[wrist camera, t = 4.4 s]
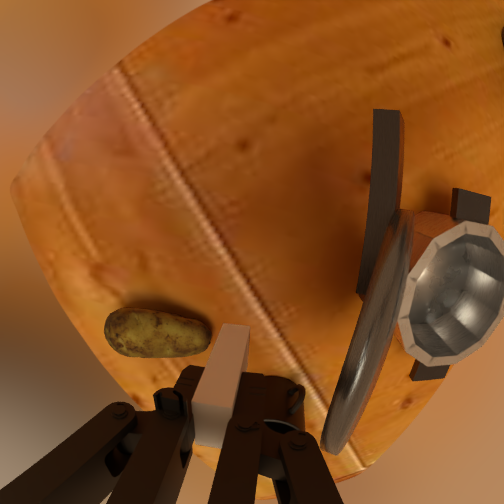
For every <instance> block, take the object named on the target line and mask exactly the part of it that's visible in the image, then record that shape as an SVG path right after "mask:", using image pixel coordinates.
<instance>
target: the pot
mask: <svg viewBox="0 0 504 504" xmlns="http://www.w3.org/2000/svg"><path fill="white" fill-rule="evenodd" d="M490 204H491V197H489V196H486V195H482V194H478V193H475V192H471V191H467V190H463V189H459V188H453V190H452V202H451V211H450V215H446V214H440V213H435V212H429V211H422V212H420V213H418V214H416V215H415V225H414V238H413V247H412V254H411V261H410V267H409V272H408V278H407V283H406V288H405V292H404V297H403V301H402V305H401V309H400V313H399V317H398V320H397V324H396V327H395V331H394V335H395V336H396V338H397V339H398V341H399V342H400V344H401V345H402V347H403V348H404V350H405V351H406V352H407V353H408V354H410V355H411V356H413V357H414V358H416V359H415V362H414V365H413V367H412V370H411V372H410V375H409V376H410V378H411V380H412V381H422V380H432V379H441V378H445V376H446V373H447V371H448V369H449V366H450V364H456V363H458V362H459V361H461V360H462V359H464V358H466V357H467V356H469V355H470V354H472V353H473V352H474V351H476V350H478V349H479V348H480V347H482V345H484V343H485V342H486V341H487V340H488V338H489V337H490V335H491V334H492V333H493V331H494V330H495V328H496V327H497V326H498V324H499V323H500V321H501V320H502V318H503V316H504V241H503V239H502V238H501V236H500V235H499V234H498V232H497V231H496V230H495V228H494V227H493V226H490V225H488V222H489V214H490ZM486 224H487V225H486ZM359 297H360V298H361V300H362V301H363V302H364V299H365V295H363V294H359Z"/></svg>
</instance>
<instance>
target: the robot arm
mask: <svg viewBox="0 0 504 504" xmlns="http://www.w3.org/2000/svg"><path fill="white" fill-rule="evenodd" d="M502 39H503V44H504V27H503V29H502ZM249 337H250V326H244V325H235V324H226V323H223V325H222V328H221V330H220V333H219V335H218V338H217V340H216V342H215V345H214V347H213V350H212V352H211V355H210V357H209V359H208V362H207V364H206V367H200V366H194V365H189V366H188V367H186V368H185V369H184V370H182V372H181V374H180V376H179V378H178V380H177V382H176V384H175V386H174V388H162V389H160V390H158V391H156V392H155V393H154V394H153V397H154V402H155V408H156V410H154V411H135V409H134V407H133V406H132V405H130V404H129V403H126V402H114V403H111V404H110V405H108V406H107V407H105V408H104V409H103V410H102V411H101V412H99V413H98V414H97V415H96V416H94V417H93V418H92V419H91V420H90V421H88V422H87V423H86V424H84V425H83V426H82V427H81V428H80V429H78V430H77V431H76V432H75V433H73V434H72V435H71V436H70V437H68V438H67V439H66V440H65V441H63V442H62V443H61V444H59V445H58V446H57V447H56V448H54V449H53V450H52V451H51V452H49V453H48V454H47V455H46V456H44V457H43V458H42V459H40V460H39V461H38V462H37V463H35V464H34V465H33V466H31V467H30V468H29V469H27V470H26V471H25V472H23V473H22V474H21V475H20V476H18V477H17V478H15V479H14V480H13V481H12V482H10V483H9V484H8V485H6V486H5V487H3V488H2V489H1V490H0V504H100V503H101V502H102V501H103V499H105V498H106V497H107V496H108V495H109V493H110V492H112V493H111V495H110V497H109V499H108V501H107V503H106V504H176V501H177V498H178V495H179V492H180V489H181V486H182V483H183V480H184V477H185V474H186V471H187V468H188V465H189V462H190V459H191V456H192V450H193V449H192V444H193V441H194V438H195V444H197V445H203V446H208V447H214V448H221V452H220V456H219V461H218V465H217V469H216V473H215V477H214V481H213V485H212V488H211V492H210V497H209V501H208V504H254V501H255V494H256V485H257V477H258V474H260V475H263V476H266V477H269V478H272V481H273V485H274V489H275V493H276V497H277V500H278V504H344V503H343V501H342V499H341V497H340V494H339V492H338V490H337V488H336V485H335V483H334V481H333V478H332V476H331V474H330V472H329V469H328V467H327V465H326V462H325V460H324V458H323V455H322V453H321V451H320V448H319V446H318V444H317V441H316V440H315V438H314V437H313V435H311V434H309V433H308V432H305V431H301V430H293V431H290V432H287V433H286V434H281V433H278V432H275V431H273V430H271V429H270V428H268V426H267V425H266V424H265V422H264V408H265V397H266V386H267V380H266V378H265V376H264V375H263V374H259V373H250V372H246V370H247V364H248V351H249Z"/></svg>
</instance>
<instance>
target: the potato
mask: <svg viewBox="0 0 504 504" xmlns="http://www.w3.org/2000/svg"><path fill="white" fill-rule="evenodd" d="M104 334H105V337H106V339H107V341H108V343H109V345H110V346H111V347H112V348H113V349H114V350H115V351H117V352H118V353H120V354H122V355H124V356H127V357H140V358H174V357H187V356H192V355H196V354H199V353H201V352H203V351H205V350H206V349H207V348H208V346H209V344H210V343H211V342H210V340H211V338H212V333H211V331H210V330H209V328H208V327H207V326H206V325H205V324H203V323H202V322H200V321H199V320H196V319H194V318H193V319H187V318H184V317H182V316H181V315H178V314H172V313H166V312H162V311H157V310H150V309H138V308H120V309H118V310H116V311H114V312H112V313H110V315H109V316H108V317H107V319H106V322H105V327H104Z"/></svg>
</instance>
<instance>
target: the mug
mask: <svg viewBox="0 0 504 504" xmlns="http://www.w3.org/2000/svg"><path fill="white" fill-rule="evenodd" d="M265 378H266V380H267V386H266V397H265V408H264V422H265V424H266V425H267V426H268V428H270V429H271V430H273V431H275V432H278V433H281V434H286V433H287V432H290V431H293V430H301V431H305V418H304V403H303V400H304V398H305V388H304V386H302V385H300V384H298V385H295V384H294V383H293V382H291V381H289V380H287V379H284V378H281V377H274V376H267V377H265Z"/></svg>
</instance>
